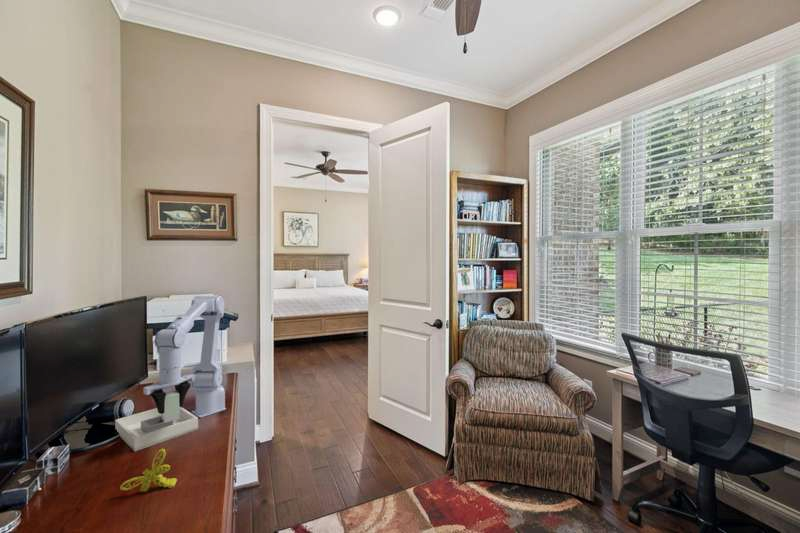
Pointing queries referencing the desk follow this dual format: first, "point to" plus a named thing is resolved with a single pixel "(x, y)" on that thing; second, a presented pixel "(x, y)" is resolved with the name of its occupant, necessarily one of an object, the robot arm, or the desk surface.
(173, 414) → the connector
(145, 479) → the decorative insect
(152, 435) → the box
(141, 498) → the desk surface
